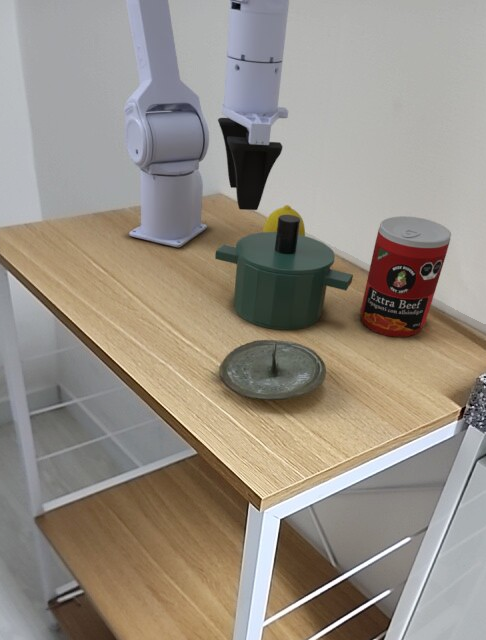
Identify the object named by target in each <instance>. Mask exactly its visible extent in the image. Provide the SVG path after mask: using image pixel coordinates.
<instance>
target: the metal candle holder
mask: <svg viewBox="0 0 486 640" xmlns="http://www.w3.org/2000/svg"><path fill="white" fill-rule="evenodd" d="M326 373H327V367H326V364H325V361H324V360H323V359H322V358H321V356H320V355H318V353H317V352H316V351H315V350H313V349H312V348H310V347H308V346H306V345H302V344H300V343H297V342H293V341H289V340H288V341H284V340H279V339H278V340H277V339H276V340H274V339H271V340H270V339H257V340H253V341H250V342H246V343H244V344H241V345H240V346H237V347H235V348H233V350H232V351H230V352H229V353H227V355H226V356H225V358H223V360H222V361H221V363H220V365H219V368H218V377H219V378H220V380H221V381H222V383H223V385H224V386H225V387H226V388H227V389H229V390H230V391H232V392H233V393H236V394H237V395H238V396H242V397H244V398H246V399H249V400H250V399H251V400H257V401H265V402H282V401H289V400H294V399H297V398H300V397H303V396H305V395H308V394H311V393H312V392H314V391H315V390H317V389H318V388H319V387H320V386H321V385H322V384H323V383H324V381H325V379H326V375H327V374H326Z"/></svg>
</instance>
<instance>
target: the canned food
mask: <svg viewBox="0 0 486 640" xmlns="http://www.w3.org/2000/svg"><path fill="white" fill-rule="evenodd" d="M451 236H452V233H451V230H450V229H448V228H447V227H446V226H445V225H442V224H441V223H439V222H436V221H433V220H430V219H426V218H422V217H416V216H405V215H404V216H403V215H402V216H392V217H388V218H384V219H383V220H382V221H380V224H379V227H378V230H377V235H376V238H375V243H374V247H373V253H372V257H371V262H370V266H369V270H368V274H367V278H366V279H367V280H366V284H365V290H364V293H363V299H362V303H361V307H360V318H361V322H362V323H363V325H365V327H367V328H368V329H369V330H371V331H373V332H375V333H378V334H381V335H383V336H389V337H394V338H395V337H397V338H401V337H403V338H404V337H410V336H411V337H412V336H413V335H416V334H418V333H419V332H421V331H422V330H423V328H424V326H425V325H426V323H427V319H428V317H429V313H430V309H431V305H432V303H433V299H434V295H435V293H436V289H437V286H438V283H439V279H440V277H441V272H442V269H443V266H444V263H445V259H446V257H447V253H448V249H449V246H450V242H451Z"/></svg>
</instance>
